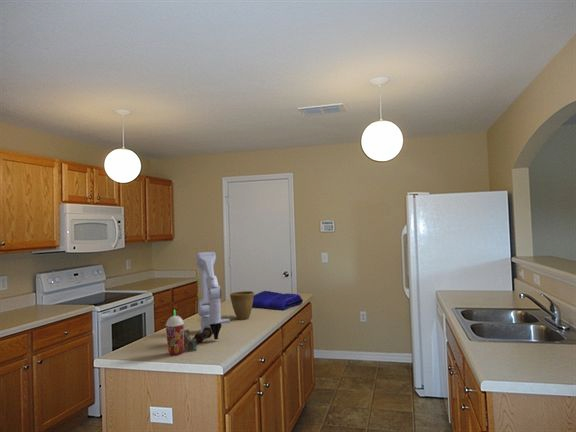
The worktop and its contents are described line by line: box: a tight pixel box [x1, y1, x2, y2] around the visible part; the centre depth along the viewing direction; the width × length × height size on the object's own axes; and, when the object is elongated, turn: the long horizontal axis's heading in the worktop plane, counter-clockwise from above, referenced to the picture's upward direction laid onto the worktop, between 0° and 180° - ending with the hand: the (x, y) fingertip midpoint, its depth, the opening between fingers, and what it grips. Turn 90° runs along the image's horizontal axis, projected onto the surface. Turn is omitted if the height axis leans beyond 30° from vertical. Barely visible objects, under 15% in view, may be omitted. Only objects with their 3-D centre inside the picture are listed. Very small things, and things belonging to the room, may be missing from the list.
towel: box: [252, 290, 303, 311], centre depth 287 cm, size 26×36×9 cm
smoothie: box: [165, 309, 185, 356], centre depth 183 cm, size 8×8×20 cm
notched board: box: [184, 329, 197, 352], centre depth 196 cm, size 22×3×5 cm, turn 23°
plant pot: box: [229, 290, 255, 321], centre depth 249 cm, size 15×15×16 cm
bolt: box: [192, 327, 213, 344], centre depth 203 cm, size 6×5×15 cm
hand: (216, 338), depth 201 cm, fingers closed
